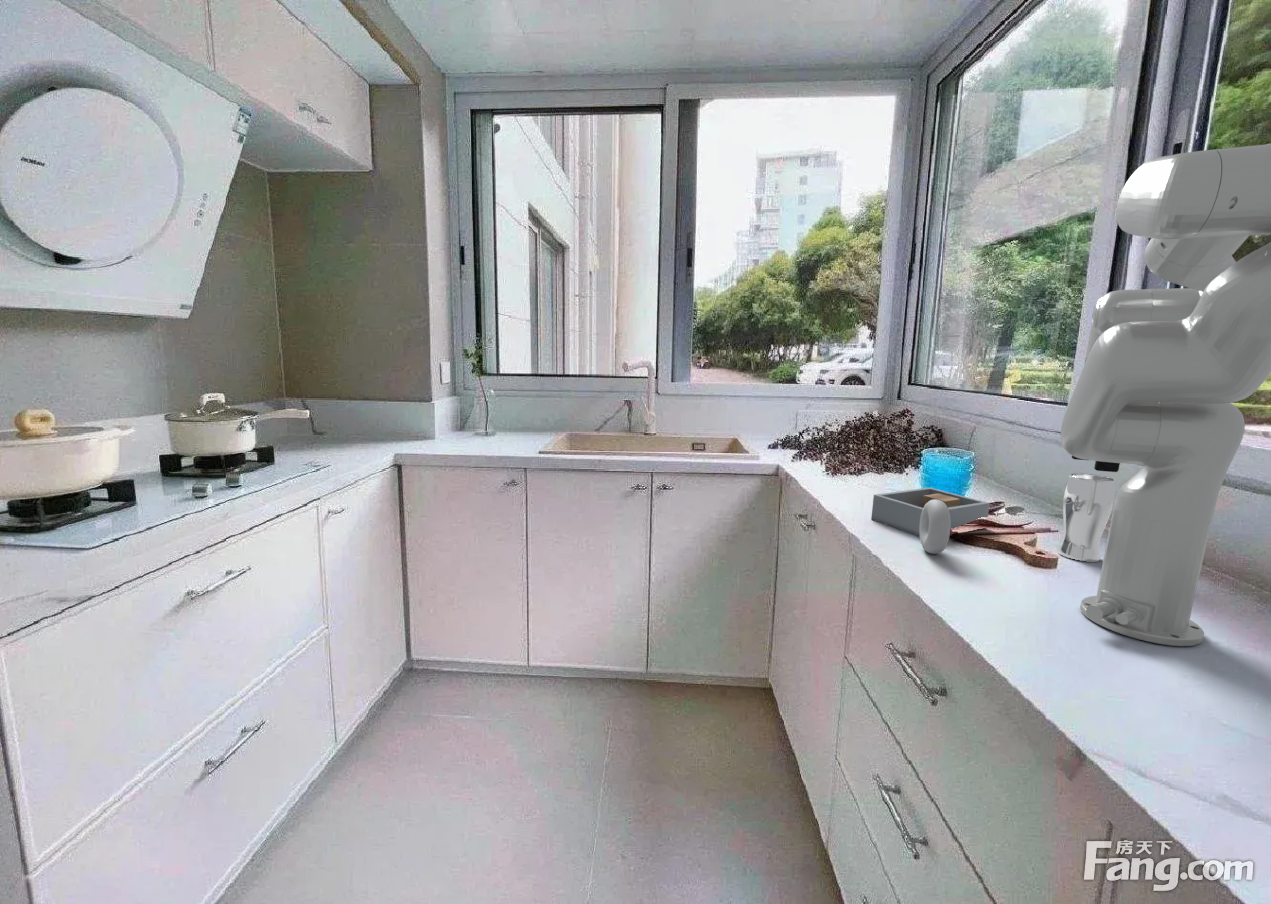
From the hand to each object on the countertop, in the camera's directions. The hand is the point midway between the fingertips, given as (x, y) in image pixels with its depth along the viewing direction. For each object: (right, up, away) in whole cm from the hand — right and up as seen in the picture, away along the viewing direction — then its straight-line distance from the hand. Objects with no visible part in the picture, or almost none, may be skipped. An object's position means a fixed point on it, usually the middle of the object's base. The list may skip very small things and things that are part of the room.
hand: (1093, 465), depth 99 cm
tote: (-19, -13, +20) cm, 31 cm away
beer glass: (-1, -17, +3) cm, 17 cm away
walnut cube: (-16, -12, +21) cm, 29 cm away
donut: (-27, -16, +3) cm, 32 cm away
